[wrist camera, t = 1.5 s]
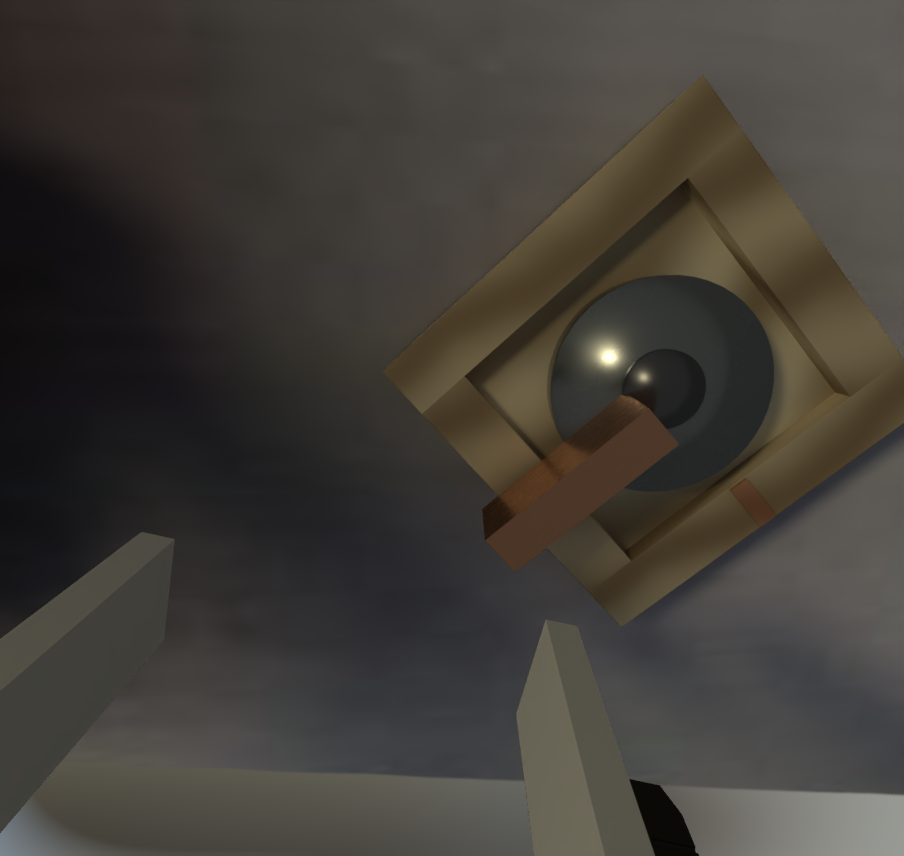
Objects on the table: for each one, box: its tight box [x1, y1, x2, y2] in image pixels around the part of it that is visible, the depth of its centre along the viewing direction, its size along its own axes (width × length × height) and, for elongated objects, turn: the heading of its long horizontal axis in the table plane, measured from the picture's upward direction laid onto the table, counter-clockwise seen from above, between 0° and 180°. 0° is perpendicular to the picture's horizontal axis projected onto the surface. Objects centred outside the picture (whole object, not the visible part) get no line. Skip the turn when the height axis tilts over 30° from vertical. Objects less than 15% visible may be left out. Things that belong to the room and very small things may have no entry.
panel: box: [382, 75, 904, 627], centre depth 29 cm, size 20×20×3 cm
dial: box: [482, 275, 774, 572], centre depth 27 cm, size 16×11×5 cm, turn 132°
